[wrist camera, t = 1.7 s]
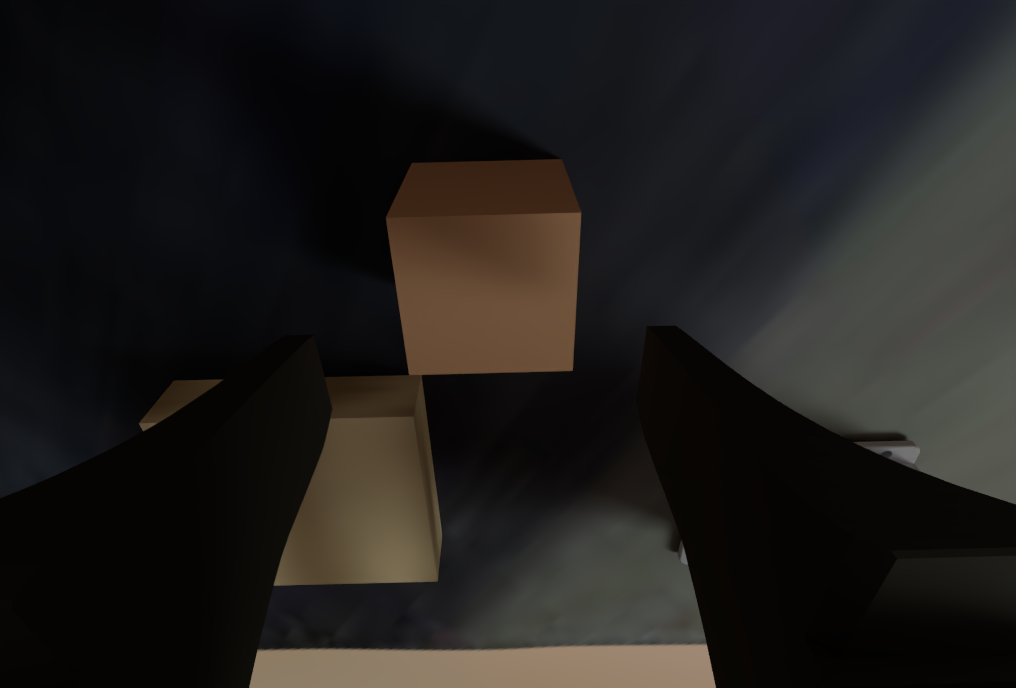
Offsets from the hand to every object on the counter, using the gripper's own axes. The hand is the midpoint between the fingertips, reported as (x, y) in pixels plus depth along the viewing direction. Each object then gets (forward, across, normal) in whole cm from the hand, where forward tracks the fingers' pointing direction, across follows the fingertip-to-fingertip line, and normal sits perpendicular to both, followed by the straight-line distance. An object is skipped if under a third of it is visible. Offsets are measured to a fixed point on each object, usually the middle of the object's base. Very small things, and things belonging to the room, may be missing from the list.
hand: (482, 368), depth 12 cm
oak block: (+9, +8, +11) cm, 16 cm away
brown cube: (+8, 0, 0) cm, 8 cm away
